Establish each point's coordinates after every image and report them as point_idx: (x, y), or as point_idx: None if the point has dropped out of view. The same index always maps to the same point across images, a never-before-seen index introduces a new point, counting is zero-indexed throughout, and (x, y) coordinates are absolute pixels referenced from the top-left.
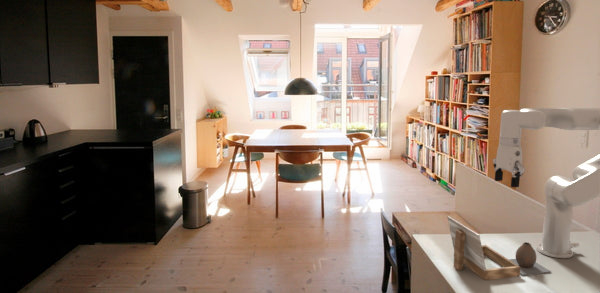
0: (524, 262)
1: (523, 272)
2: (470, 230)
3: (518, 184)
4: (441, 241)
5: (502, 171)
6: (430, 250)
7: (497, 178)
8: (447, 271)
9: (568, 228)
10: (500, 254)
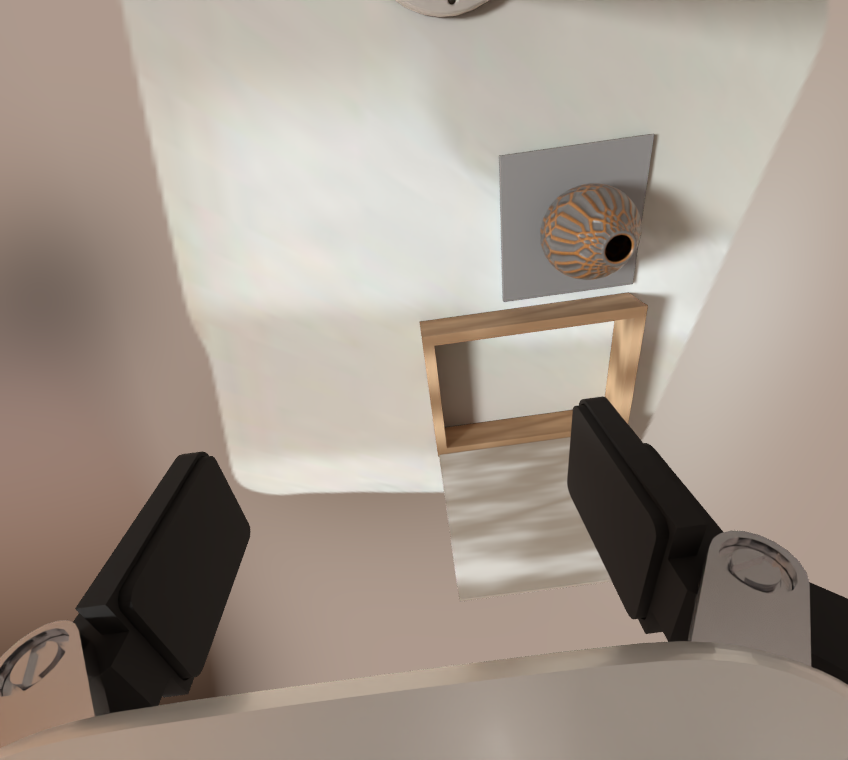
0: (608, 256)
1: (620, 269)
2: None
3: (649, 446)
4: (298, 432)
5: (114, 607)
6: (382, 483)
7: (233, 548)
8: None
9: None
10: (525, 323)
